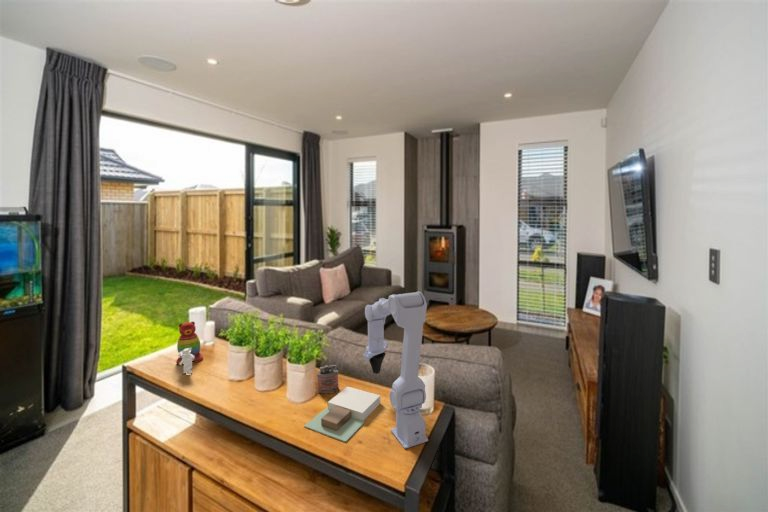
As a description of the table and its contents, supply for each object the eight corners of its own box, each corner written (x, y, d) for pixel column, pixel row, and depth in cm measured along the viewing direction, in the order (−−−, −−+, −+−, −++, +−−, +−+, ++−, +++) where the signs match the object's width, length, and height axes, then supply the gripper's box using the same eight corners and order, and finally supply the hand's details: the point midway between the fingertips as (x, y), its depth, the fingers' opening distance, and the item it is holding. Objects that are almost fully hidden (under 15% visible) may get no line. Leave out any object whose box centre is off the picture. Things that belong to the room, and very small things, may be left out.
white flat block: (347, 393, 128) (347, 386, 128) (380, 403, 122) (380, 395, 121) (328, 410, 118) (327, 402, 117) (362, 421, 111) (362, 413, 111)
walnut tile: (336, 412, 116) (336, 405, 115) (351, 417, 113) (351, 410, 112) (321, 425, 109) (321, 418, 108) (336, 431, 106) (336, 423, 105)
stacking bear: (176, 366, 153) (172, 327, 151) (177, 357, 162) (173, 321, 160) (203, 360, 158) (200, 323, 156) (202, 353, 167) (200, 318, 165)
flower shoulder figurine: (198, 374, 145) (196, 347, 144) (189, 378, 142) (186, 350, 140) (185, 369, 149) (183, 343, 148) (176, 373, 146) (174, 346, 144)
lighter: (318, 394, 128) (317, 369, 127) (317, 390, 131) (316, 365, 130) (339, 391, 130) (338, 366, 129) (338, 387, 133) (337, 362, 132)
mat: (325, 409, 118) (325, 408, 118) (365, 422, 111) (365, 421, 111) (304, 427, 109) (304, 425, 109) (345, 442, 101) (345, 441, 101)
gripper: (376, 329, 131) (376, 362, 133) (355, 341, 119) (356, 378, 121) (392, 331, 128) (392, 366, 130) (373, 345, 115) (373, 383, 117)
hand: (376, 372), depth 125 cm, fingers closed
